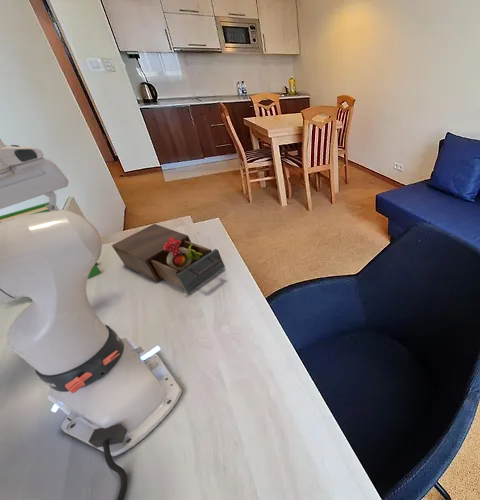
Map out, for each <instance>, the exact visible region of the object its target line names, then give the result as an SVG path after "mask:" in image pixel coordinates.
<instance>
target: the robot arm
mask: <svg viewBox="0 0 480 500" xmlns="http://www.w3.org/2000/svg"><path fill="white" fill-rule="evenodd" d="M1 139H2V138H0V210H2V209H5V208H9V207H11V206H14V205H16V204H17V205H18V204H20V203H23V202H25V201H28V200H32V199H35V198H38V197H40V196H43V195H44V196H45V197H47V198H48V202H49V204H48V205H45V206H46V207H47V208H48V210H49V212H42V213H36V214H29V215H24V216H21V217H18V218H14V219H11V220H8V221H5V222H0V307H1V306H4V305H6V304H8V303H11V302H13V301H16V300H18V299H21V298H29V299H30V298H31V299H32V300H31V299H30V300H31V301H30V303H29V304H28V305H27V306H26V307H25V308H23V310H22V311H21V312H20V313H19V314H18V315H16V317H15V318H14V320H13V321H12V323H11V324H10V326H9V327H8V330H7V334H6V341H7V344H8V346H9V348H10V349H11V350H12V351H13V352H14V353H15V354H17V355H18V356H19V357H20V358H22V359H23V360H24V361H25V362H26V363H27V364H28V365H30V366H31V367H32V368H33V369H34V373H35V375H36V376H38V378H39V380H41V382H43V383H44V384H45V385H47V386H48V387H49V391H48V395H47V399H48V400H49V401H50V402H51V403H53V406H52V408H51V412H53V413H56V412H57V411H58V409H60V410H61V411H62V412H64V413H65V414H66V415H67V416H66V417H65V419H64V420H63V422H62V423H61V426H60V429H61V430H62V431H63V432H64V433H65V434H67V435H69V436H71V437H73V438H75V439H77V440H79V441H81V442H83V443H84V444H87V445H89V446H91V447H93V448H95V449H97V450H99V451H101V452H103V456H104V460H105V462H106V465H107V467H108V468H109V469H110V470H112V471H113V472H115V473H116V474H118V476H119V479H120V488H119V494H118V496H117V498H116V500H124V498H125V494H126V491H127V486H128V477H127V473H126V470H125V469H124V468H123V467H122V466H120V465H118V464H117V463H115V461H114V459H113V457H117V456H119V455H121V454H123V453H125V452H126V451H128V450H130V449H131V448H133V447H135V446H136V445H137V444H138V443H140V441H142V440H143V439H145V438H146V436H148V435H149V434H150V433H151V432H152V431H153V430H154V429H155V428H156V427H158V426H159V424H160V423H162V421H163V420H165V418H166V417H167V415H169V414H170V412H171V411H172V410H173V409H174V407H175V405H176V404H177V403H178V401H179V399H180V398H181V396H182V393H183V390H182V388H181V386H180V385H179V384H178V382H177V381H176V379H175V378H174V377H173V375H172V373H171V372H170V371H169V369H168V367H167V366H166V365H165V364H164V362H163V360H162V359H161V358H160V356H159V355H158V354H157V353H158V352H159V351H160V350H161V348H160V346H159V345H157V346H155V347H153V348H152V349H151V350H150V351H148V352H146V353H145V350H144V348H143V346H138V347H137V346H136V345H135V344H134V342H133V341H132V340H131V339H130V338H129V337H127V338H126V337H122V338H120V337H119V334H118V333H117V332H116V331H115V330H114V329H113V328H111V327H110V326H109V325H108V324H105V323H104V322H103V321H102V320H101V318H100V317H99V316H98V314H97V313H96V311H95V310H94V308H93V306H92V305H91V303H90V301H89V298H88V294H87V284H88V280H89V278H88V276H89V274H90V271H91V270H92V268H93V266H94V265H95V263H96V262H97V263H98V261H99V259H100V257H101V253H102V249H103V244H102V239H101V236H100V233H99V231H98V230H97V228H96V227H95V225H93V223H91V222H90V221H89V220H88V219H87V218H85V217H83V216H82V215H80V214H78V213H76V212H73V211H71V210H67V209H60V208H59V206H58V205H57V194H56V193H55V191H58V190H61V189H65V188H67V187H68V186H69V179H68V178H67V177H66V175H65V174H64V172H63V171H62V170H61V169H60V167H58V165H57V164H55V163H54V161H52V160H51V159H49V158H46V157H44V153H43V151H42V150H41V149H40V148H39V147H36V146H33V145H20V144H19V145H18V144H10V145H8V144H7V145H6V144H4V141H2V140H1ZM142 353H145V354H142Z"/></svg>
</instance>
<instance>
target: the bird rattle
mask: <svg viewBox="0 0 480 500" xmlns="http://www.w3.org/2000/svg"><path fill="white" fill-rule="evenodd" d="M180 245H181V241H177V240H175V239H174V238H173V237H170V239H169V241H168V242H167V243H166V244H164V248H163V250H164V251H170V253H169V254H168V256H167V265H168V266H169V267H171V268H173V269H175V270H177V271H181V270H184V269H185V268H187V267H188V266H189V265H190V264H191V262H192V258H193V257H194V258H195V259H200V256H202V253H197V252H196V251H194V250H192V249H191V248H192V246H193V245H190V246H189V248H188V249H186V248H183V247H179V246H180ZM180 253H184V255H185V256H186V258H185V257H184V256H183V255H182V254H181V255H180Z"/></svg>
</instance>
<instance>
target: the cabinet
mask: <svg viewBox="0 0 480 500" xmlns="http://www.w3.org/2000/svg"><path fill="white" fill-rule="evenodd" d="M170 237H173V238H174V239H175V240H177V241H181V242H182V241H184V240H186V241H189V242H192V241H191V239H190V237H189V235H188V234H185V233H181V232H179V231H176V230H173V229H171V228H168V227H165V226H162V225H159V224H157V223H153V224H151V225H149V226H147V227H145V228H143V229H141V230H139V231H137V232H135V233H133V234H130V235H129V236H127V237H125V238H123V239H121V240H119V241H117V242H115V243H113V244H111V247H112V248H113V250H114V251H115V254H117V256H118V257H119V259H120V261H121V263H122V264H123V265H124V267H126V268H128V269H130V270H133V271H134V272H136V273H138V274H140V275H141V276H144V277H146V278H148V279H149V280H152V281H154V282H156V283H160V282H162V281H163V280H164V279H163V278H161V277H159V276H157V275H156V273H155V272H154V270H153V268H152V267H151V265H150V263H149V260H151V259H153V258H155V257H156V256H158V255H160V254H161V253H163V252H165V251H164V250H163V248H164V244H166V243H167V242H168V241H169V239H170Z"/></svg>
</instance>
